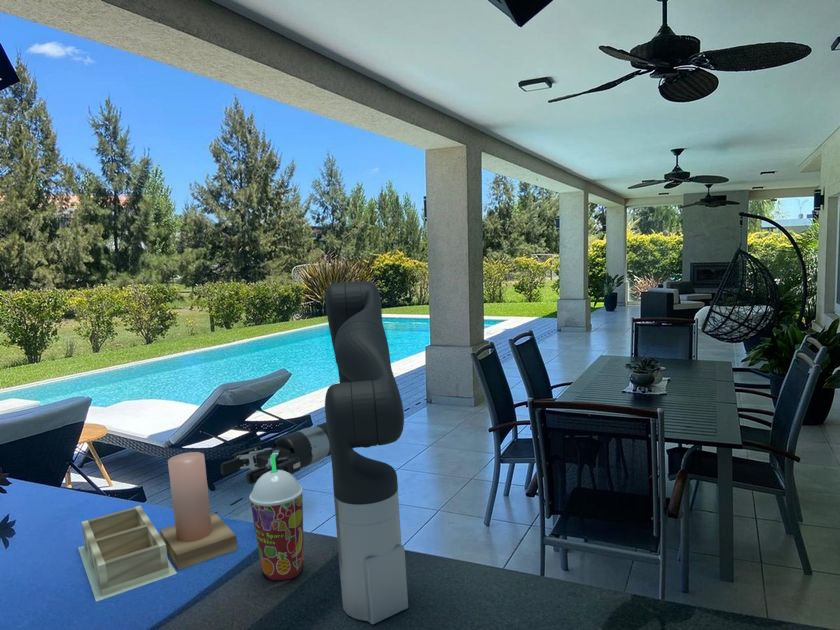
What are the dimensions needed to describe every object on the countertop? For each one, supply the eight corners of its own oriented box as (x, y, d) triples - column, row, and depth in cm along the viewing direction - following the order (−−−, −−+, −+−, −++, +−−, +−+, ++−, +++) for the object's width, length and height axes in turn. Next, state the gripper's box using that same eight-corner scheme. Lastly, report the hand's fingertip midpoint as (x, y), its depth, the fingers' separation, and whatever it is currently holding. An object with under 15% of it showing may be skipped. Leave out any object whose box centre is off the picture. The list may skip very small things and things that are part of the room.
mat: (177, 575, 102) (177, 573, 101) (96, 603, 95) (96, 601, 95) (148, 528, 119) (147, 526, 119) (78, 549, 113) (78, 547, 113)
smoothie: (246, 580, 99) (234, 460, 96) (280, 555, 106) (270, 443, 104) (287, 591, 95) (275, 467, 92) (319, 564, 102) (309, 449, 100)
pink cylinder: (216, 534, 109) (208, 458, 107) (181, 545, 106) (172, 467, 104) (206, 522, 114) (198, 449, 112) (172, 532, 110) (164, 457, 109)
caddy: (169, 573, 102) (165, 544, 101) (102, 596, 96) (98, 566, 95) (143, 530, 118) (140, 505, 117) (84, 547, 112) (81, 521, 112)
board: (237, 551, 108) (236, 535, 108) (178, 572, 103) (176, 555, 102) (216, 527, 118) (215, 512, 118) (161, 545, 112) (160, 529, 112)
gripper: (279, 425, 132) (211, 448, 120) (323, 436, 123) (255, 462, 111) (282, 459, 133) (215, 485, 121) (326, 472, 124) (259, 502, 111)
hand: (234, 474), depth 116 cm, fingers open, 8 cm apart
